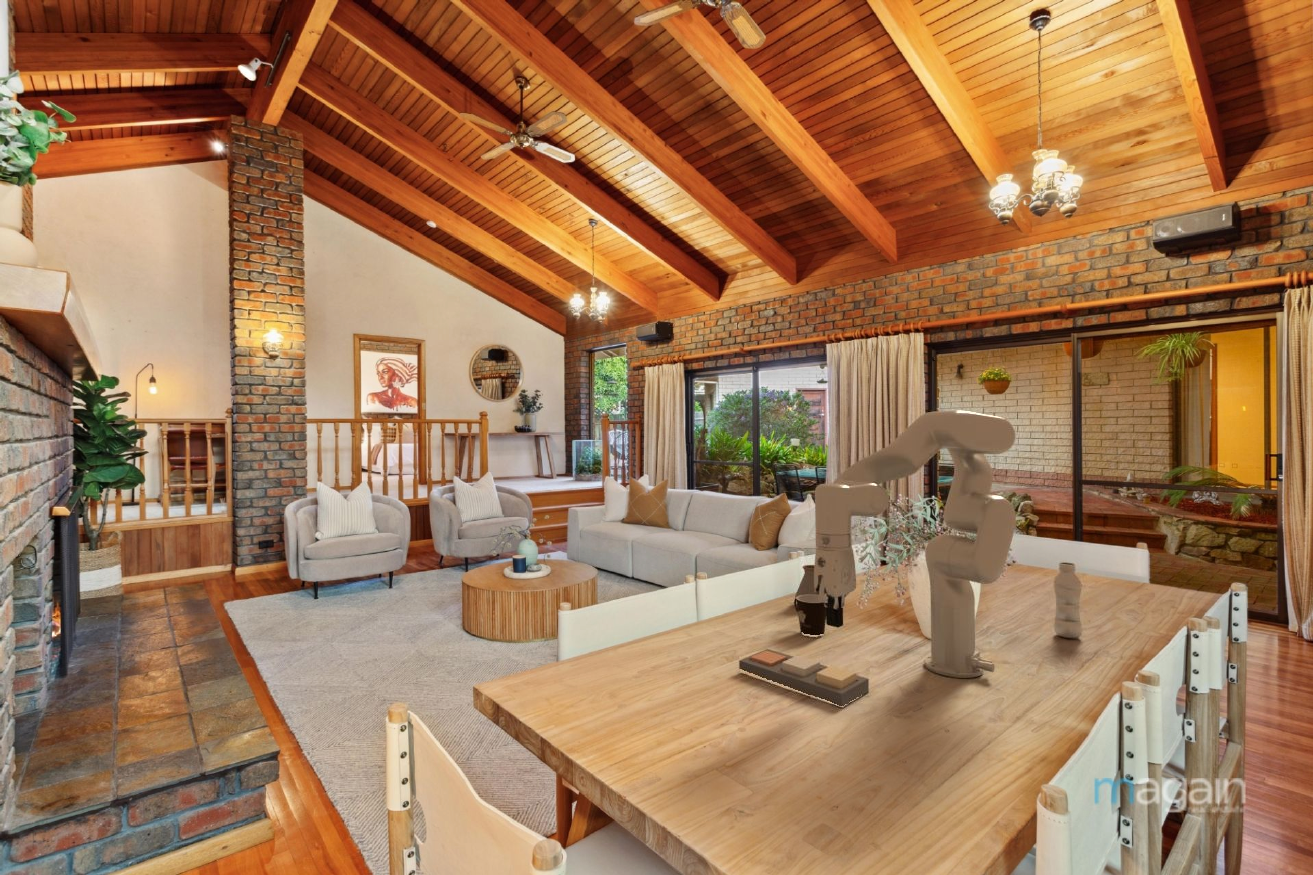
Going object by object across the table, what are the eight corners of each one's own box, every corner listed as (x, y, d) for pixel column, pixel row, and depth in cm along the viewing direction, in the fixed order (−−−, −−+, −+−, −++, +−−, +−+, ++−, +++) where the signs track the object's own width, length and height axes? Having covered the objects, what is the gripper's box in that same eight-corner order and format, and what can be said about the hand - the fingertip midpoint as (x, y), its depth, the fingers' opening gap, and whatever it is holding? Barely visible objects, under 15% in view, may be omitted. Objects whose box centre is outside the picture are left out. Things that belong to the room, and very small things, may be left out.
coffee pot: (812, 613, 195) (811, 565, 195) (787, 604, 205) (787, 559, 205) (861, 603, 205) (860, 558, 205) (835, 595, 215) (834, 552, 215)
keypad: (868, 692, 135) (868, 678, 135) (842, 708, 128) (842, 693, 128) (767, 660, 155) (767, 648, 155) (739, 673, 147) (739, 660, 147)
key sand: (856, 682, 135) (856, 672, 135) (841, 690, 131) (841, 680, 131) (831, 674, 139) (831, 665, 139) (816, 682, 135) (816, 672, 135)
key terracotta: (786, 665, 148) (786, 656, 148) (771, 672, 144) (771, 663, 144) (766, 658, 152) (766, 650, 152) (750, 665, 148) (750, 656, 148)
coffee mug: (831, 639, 170) (831, 602, 170) (800, 639, 171) (799, 602, 171) (821, 625, 182) (821, 591, 182) (791, 626, 182) (791, 592, 182)
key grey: (819, 670, 141) (819, 662, 141) (804, 678, 137) (804, 669, 137) (797, 664, 146) (797, 655, 146) (782, 671, 141) (782, 662, 141)
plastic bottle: (1073, 633, 172) (1072, 561, 172) (1087, 641, 165) (1087, 566, 165) (1048, 633, 172) (1047, 561, 172) (1062, 641, 166) (1061, 566, 166)
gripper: (830, 547, 127) (831, 637, 127) (866, 538, 137) (868, 621, 137) (798, 543, 132) (800, 629, 133) (836, 534, 143) (837, 614, 143)
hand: (834, 625), depth 135 cm, fingers closed
